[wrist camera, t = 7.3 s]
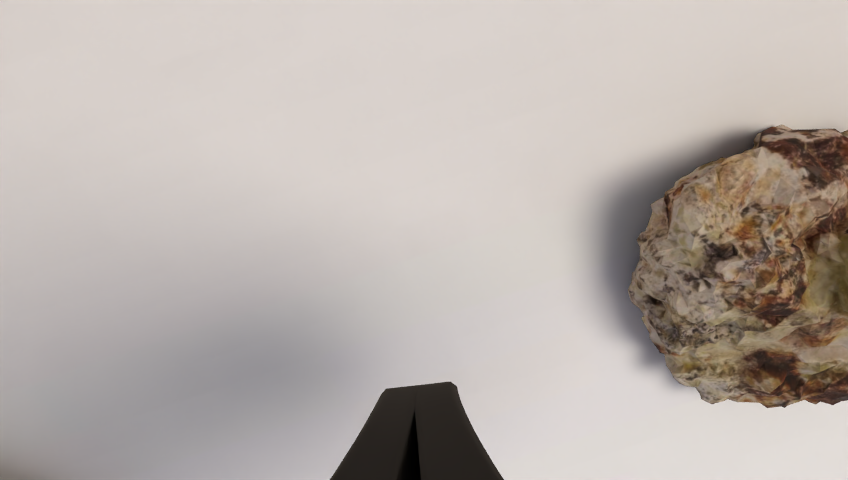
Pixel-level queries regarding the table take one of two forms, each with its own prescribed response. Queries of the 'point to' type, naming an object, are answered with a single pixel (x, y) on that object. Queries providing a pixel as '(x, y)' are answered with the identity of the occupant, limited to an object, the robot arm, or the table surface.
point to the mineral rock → (753, 272)
